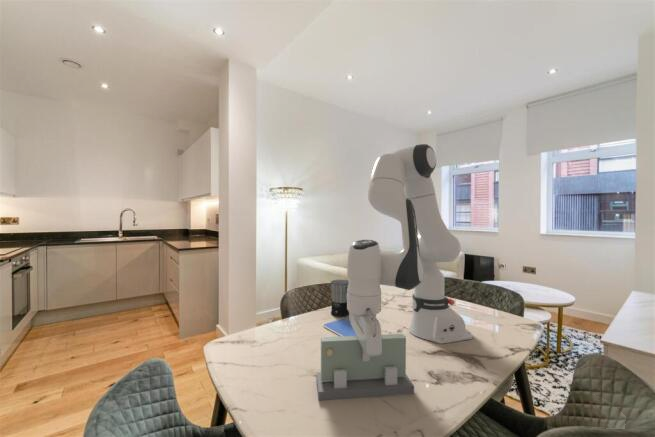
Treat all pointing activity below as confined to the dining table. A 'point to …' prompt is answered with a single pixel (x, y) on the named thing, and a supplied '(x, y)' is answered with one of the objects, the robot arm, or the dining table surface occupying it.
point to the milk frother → (339, 298)
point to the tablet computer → (341, 327)
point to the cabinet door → (349, 356)
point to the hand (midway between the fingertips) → (363, 355)
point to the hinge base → (363, 385)
